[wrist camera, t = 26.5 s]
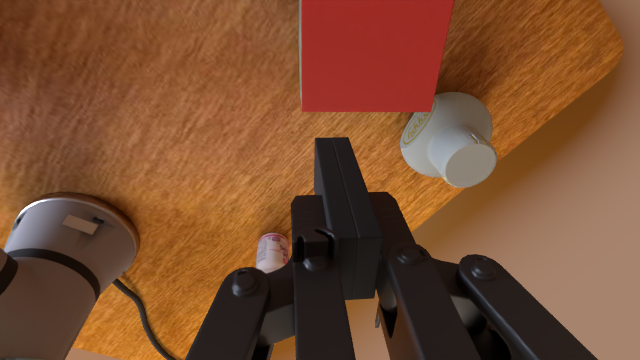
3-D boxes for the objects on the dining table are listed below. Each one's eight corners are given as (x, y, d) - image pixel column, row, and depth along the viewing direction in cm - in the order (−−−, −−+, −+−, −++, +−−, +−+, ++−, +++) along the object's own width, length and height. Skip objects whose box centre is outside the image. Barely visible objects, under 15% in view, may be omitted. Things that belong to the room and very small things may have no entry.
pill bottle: (295, 240, 54) (296, 284, 47) (277, 258, 56) (275, 302, 49) (269, 226, 52) (266, 269, 45) (251, 245, 54) (246, 290, 47)
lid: (470, -93, 25) (475, -95, 25) (428, 109, 34) (431, 112, 33) (300, -100, 25) (300, -101, 24) (301, 109, 33) (301, 112, 33)
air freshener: (434, 170, 48) (464, 216, 40) (386, 147, 46) (407, 190, 37) (489, 104, 44) (536, 140, 35) (438, 73, 41) (477, 104, 33)
